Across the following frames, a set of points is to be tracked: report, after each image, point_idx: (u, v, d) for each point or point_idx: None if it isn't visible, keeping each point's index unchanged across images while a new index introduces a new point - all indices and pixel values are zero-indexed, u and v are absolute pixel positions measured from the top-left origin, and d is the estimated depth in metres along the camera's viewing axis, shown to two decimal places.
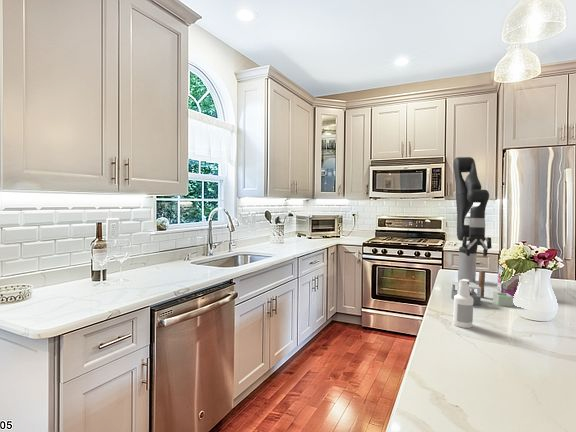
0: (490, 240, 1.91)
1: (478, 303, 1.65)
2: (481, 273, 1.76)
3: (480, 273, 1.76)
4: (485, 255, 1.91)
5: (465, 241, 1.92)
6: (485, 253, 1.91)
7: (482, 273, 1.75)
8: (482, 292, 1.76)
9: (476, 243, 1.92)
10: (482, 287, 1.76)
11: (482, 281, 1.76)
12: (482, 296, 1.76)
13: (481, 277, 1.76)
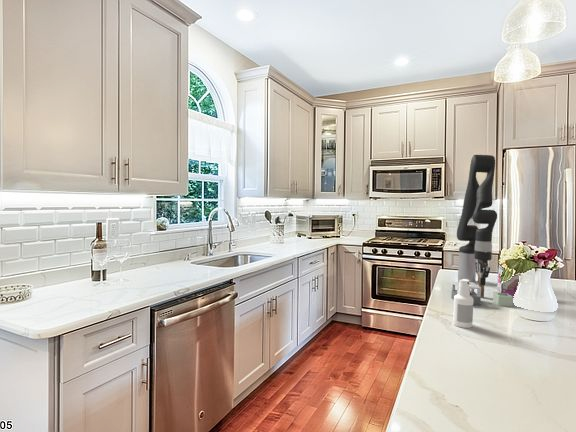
0: None
1: (478, 303, 1.65)
2: None
3: None
4: None
5: None
6: None
7: None
8: (482, 292, 1.76)
9: None
10: (482, 287, 1.76)
11: None
12: (482, 296, 1.76)
13: None
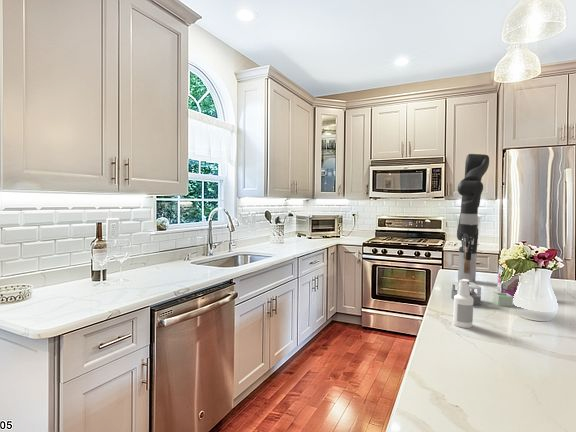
0: None
1: (478, 303, 1.65)
2: None
3: None
4: None
5: None
6: None
7: None
8: (468, 267, 1.68)
9: None
10: (468, 262, 1.68)
11: None
12: (468, 272, 1.68)
13: None
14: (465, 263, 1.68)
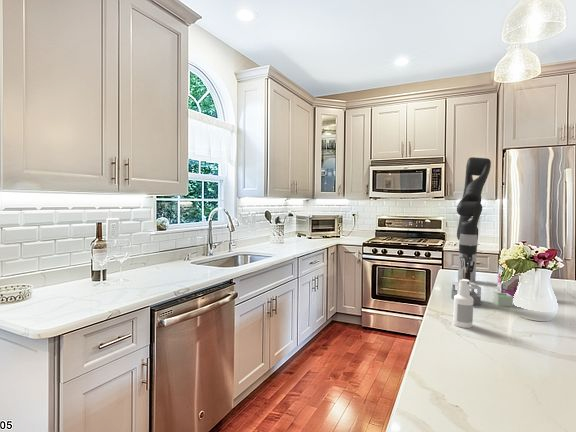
0: None
1: (478, 303, 1.65)
2: None
3: None
4: None
5: None
6: None
7: None
8: None
9: None
10: None
11: None
12: None
13: None
14: None
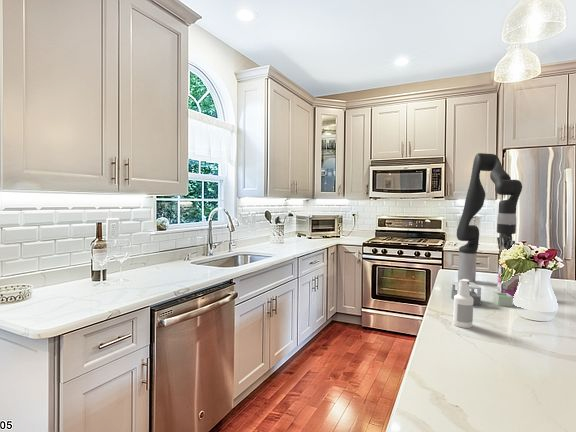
0: None
1: (478, 303, 1.65)
2: None
3: (503, 248, 1.64)
4: None
5: None
6: None
7: None
8: None
9: None
10: None
11: None
12: None
13: None
14: None
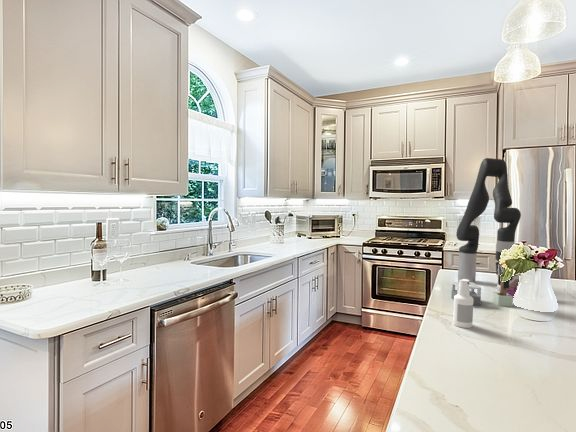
0: None
1: (478, 303, 1.65)
2: None
3: None
4: None
5: None
6: None
7: None
8: None
9: None
10: (504, 292, 1.65)
11: None
12: None
13: None
14: (501, 293, 1.66)
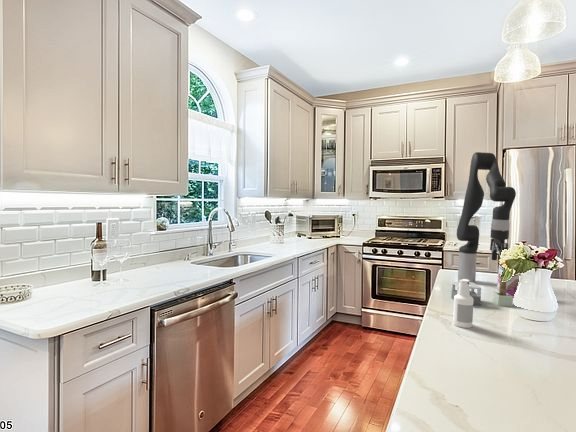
0: None
1: (478, 303, 1.65)
2: None
3: None
4: (496, 258, 1.75)
5: None
6: (496, 256, 1.75)
7: None
8: None
9: None
10: (504, 291, 1.65)
11: (503, 285, 1.66)
12: None
13: None
14: (501, 292, 1.66)
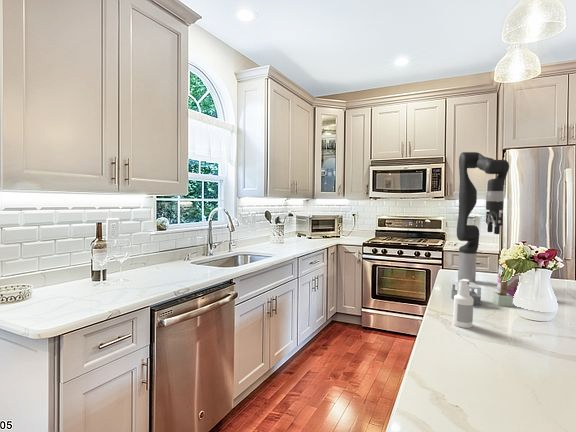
0: None
1: (478, 303, 1.65)
2: None
3: None
4: None
5: None
6: None
7: None
8: None
9: None
10: (504, 292, 1.65)
11: (504, 286, 1.64)
12: None
13: (503, 282, 1.64)
14: (501, 293, 1.65)
